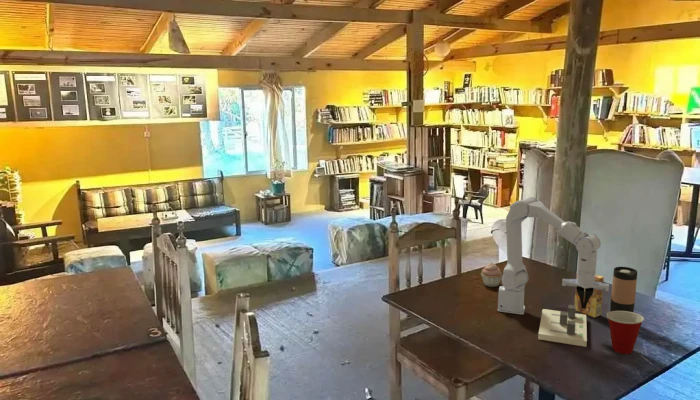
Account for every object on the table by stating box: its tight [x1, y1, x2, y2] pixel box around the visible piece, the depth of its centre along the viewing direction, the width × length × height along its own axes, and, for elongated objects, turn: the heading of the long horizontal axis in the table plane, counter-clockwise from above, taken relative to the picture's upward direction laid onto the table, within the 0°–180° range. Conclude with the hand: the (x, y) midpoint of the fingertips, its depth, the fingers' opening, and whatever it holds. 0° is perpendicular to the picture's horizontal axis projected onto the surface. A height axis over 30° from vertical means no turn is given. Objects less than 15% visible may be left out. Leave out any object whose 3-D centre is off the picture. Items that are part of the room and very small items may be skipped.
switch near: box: [567, 320, 575, 335], centre depth 179 cm, size 2×3×4 cm
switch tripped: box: [559, 310, 568, 325], centre depth 186 cm, size 2×3×4 cm
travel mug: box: [609, 266, 638, 313], centre depth 189 cm, size 8×8×20 cm
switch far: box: [567, 304, 576, 318], centre depth 191 cm, size 2×3×4 cm
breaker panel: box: [537, 308, 588, 348], centre depth 187 cm, size 15×22×2 cm
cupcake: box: [480, 262, 503, 288], centre depth 229 cm, size 9×9×10 cm
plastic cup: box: [605, 311, 645, 355], centre depth 171 cm, size 11×11×12 cm
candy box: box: [573, 272, 605, 318], centre depth 198 cm, size 9×4×15 cm, turn 33°
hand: (583, 307), depth 183 cm, fingers closed
